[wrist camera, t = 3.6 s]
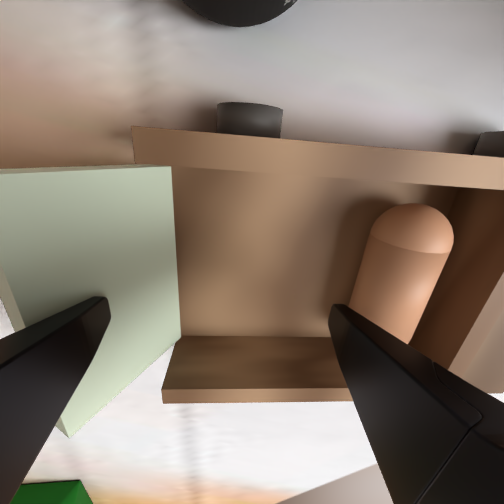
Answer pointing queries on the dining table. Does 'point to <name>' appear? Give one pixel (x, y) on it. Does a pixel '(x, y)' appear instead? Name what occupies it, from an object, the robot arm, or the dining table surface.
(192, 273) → the wooden drawer box
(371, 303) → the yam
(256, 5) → the beverage can
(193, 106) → the dining table surface
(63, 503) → the milk carton
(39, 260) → the tailgate
